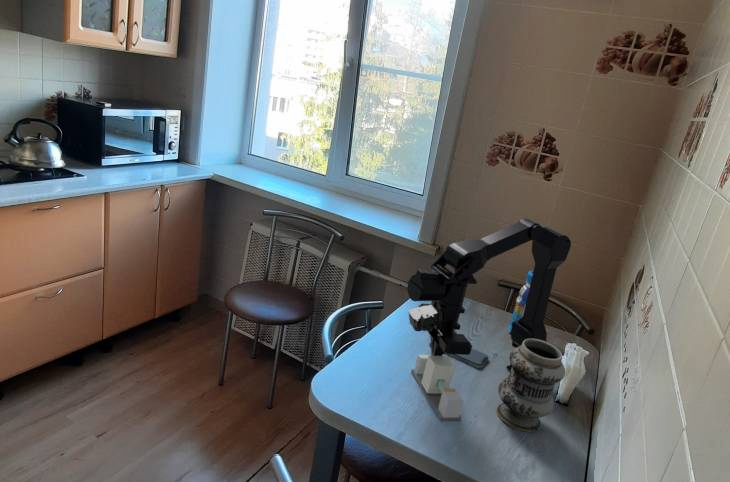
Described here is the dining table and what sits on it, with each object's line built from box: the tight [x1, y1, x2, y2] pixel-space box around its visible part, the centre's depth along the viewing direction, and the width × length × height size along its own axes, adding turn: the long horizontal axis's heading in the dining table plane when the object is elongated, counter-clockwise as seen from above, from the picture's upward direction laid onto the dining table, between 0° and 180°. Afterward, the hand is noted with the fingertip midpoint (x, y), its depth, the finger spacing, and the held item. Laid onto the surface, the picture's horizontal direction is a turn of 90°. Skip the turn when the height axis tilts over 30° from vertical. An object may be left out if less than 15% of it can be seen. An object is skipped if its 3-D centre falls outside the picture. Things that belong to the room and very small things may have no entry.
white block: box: [421, 355, 456, 394], centre depth 118 cm, size 5×4×7 cm
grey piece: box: [410, 354, 464, 422], centre depth 118 cm, size 5×18×5 cm, turn 15°
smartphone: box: [428, 342, 489, 369], centre depth 141 cm, size 8×2×15 cm
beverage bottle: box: [507, 270, 534, 333], centre depth 157 cm, size 8×8×20 cm
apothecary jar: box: [496, 339, 566, 433], centre depth 114 cm, size 12×12×18 cm
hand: (434, 360), depth 121 cm, fingers closed
